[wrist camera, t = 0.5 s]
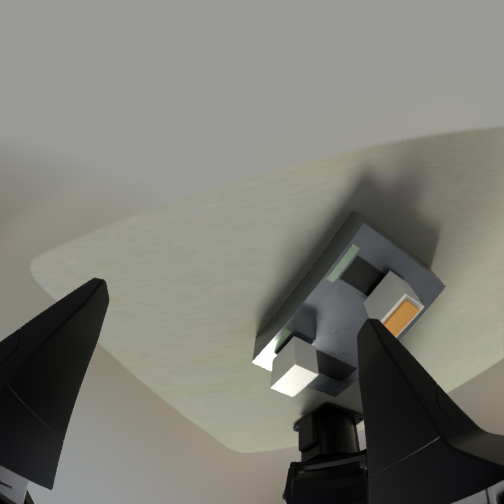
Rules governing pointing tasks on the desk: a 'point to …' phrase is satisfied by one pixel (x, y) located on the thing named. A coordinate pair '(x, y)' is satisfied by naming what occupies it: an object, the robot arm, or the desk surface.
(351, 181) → the desk surface
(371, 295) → the handle
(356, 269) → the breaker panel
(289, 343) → the handle
